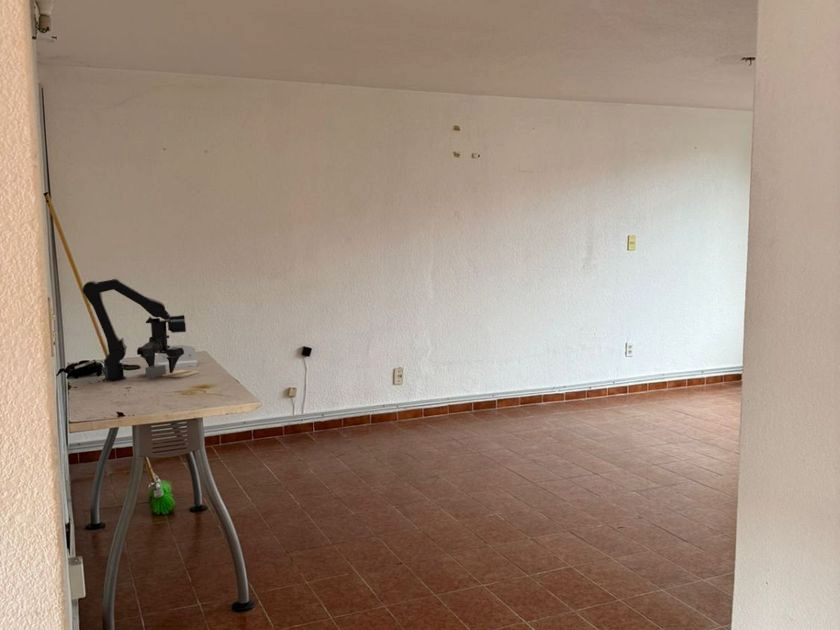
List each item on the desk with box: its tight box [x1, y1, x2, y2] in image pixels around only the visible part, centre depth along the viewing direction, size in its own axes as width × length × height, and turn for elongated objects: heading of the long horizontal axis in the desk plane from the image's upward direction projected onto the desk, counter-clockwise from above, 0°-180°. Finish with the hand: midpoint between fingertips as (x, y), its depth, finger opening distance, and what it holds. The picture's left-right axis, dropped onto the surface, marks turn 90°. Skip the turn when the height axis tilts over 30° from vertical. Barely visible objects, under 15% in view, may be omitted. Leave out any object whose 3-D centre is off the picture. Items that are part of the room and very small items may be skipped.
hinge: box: [156, 344, 199, 369], centre depth 335 cm, size 17×5×10 cm, turn 107°
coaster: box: [162, 369, 200, 379], centre depth 318 cm, size 10×10×1 cm
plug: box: [145, 363, 168, 379], centre depth 318 cm, size 4×9×4 cm
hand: (161, 372), depth 316 cm, fingers open, 9 cm apart
